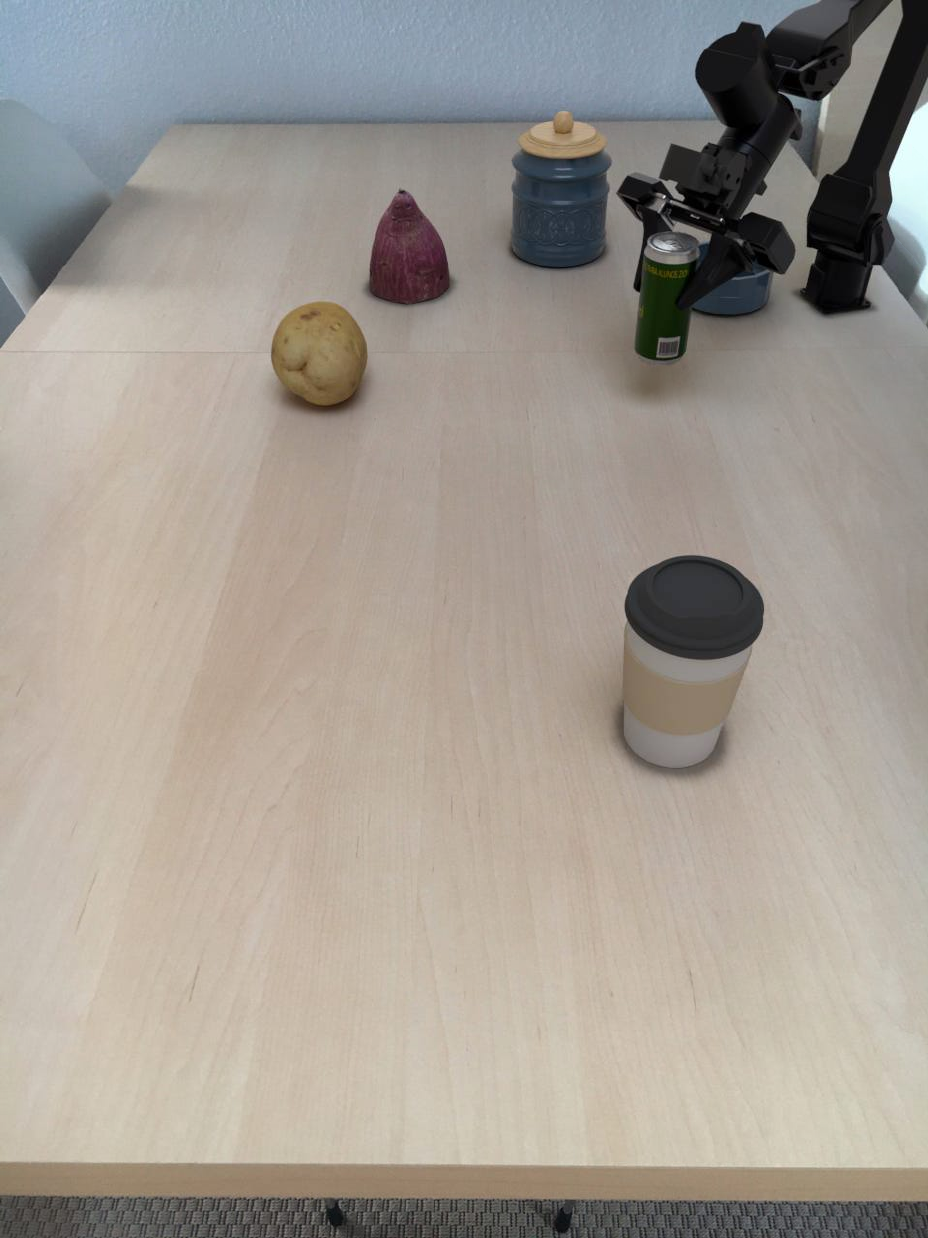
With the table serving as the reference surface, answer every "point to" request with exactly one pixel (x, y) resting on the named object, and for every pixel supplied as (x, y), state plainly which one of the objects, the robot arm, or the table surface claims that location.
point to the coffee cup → (685, 655)
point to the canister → (560, 193)
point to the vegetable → (407, 255)
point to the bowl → (736, 290)
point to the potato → (319, 353)
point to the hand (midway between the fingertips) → (657, 299)
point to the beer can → (665, 297)
